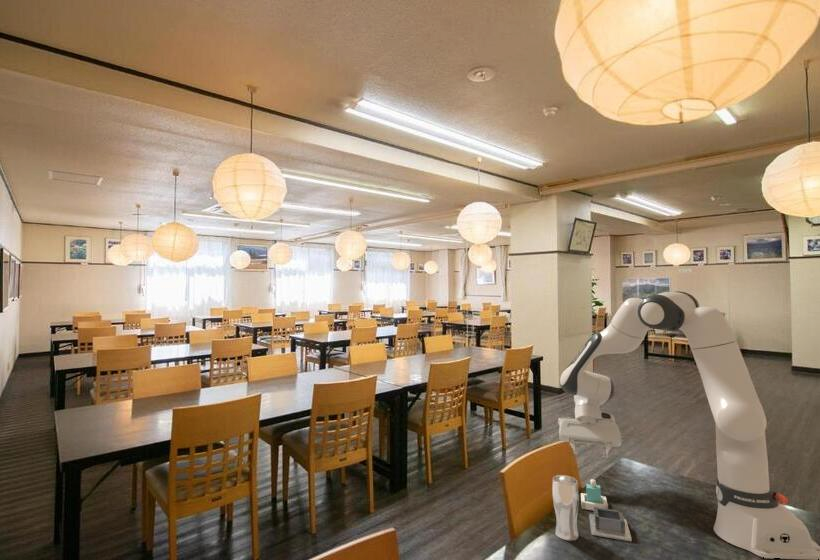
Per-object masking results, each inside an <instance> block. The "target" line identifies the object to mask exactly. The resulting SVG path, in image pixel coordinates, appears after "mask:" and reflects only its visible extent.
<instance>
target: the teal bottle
mask: <svg viewBox="0 0 820 560" xmlns="http://www.w3.org/2000/svg"><path fill="white" fill-rule="evenodd" d="M589 483H590V484H589ZM589 483H586V484H585V485H586V494H587V501H586V502H593V503H600V504H601V496H602V490H601V485H599V484H598V485H597V481H596V479H593V478H591V479H590V482H589Z"/></svg>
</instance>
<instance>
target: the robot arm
mask: <svg viewBox="0 0 820 560" xmlns="http://www.w3.org/2000/svg"><path fill="white" fill-rule="evenodd" d="M612 317H613V318H612V319H611V320H610V322H609V325H607V327H605V328H604V329H603V330H601V331H600V332H597V333H594V334H593V335H591V336H590V337H589V339H587V341H586V342H585V344H584V345H583V346H582V348H581V349H580V350H579V352H578V353H577V354H576V356H575V357H574V359H572V361H571V362H570V364H568V365H567V367H565V369H564V370H562V372H561V374H560V378H559V385H560V387H561V388H562V390H563V391H564V393H565V394H567V395H570V396H571V395H572V396H573V402H574V404H575V405H574V416H568V415H562V416H560V417H559V418H558V419H557V425H558V427H559V429H558V436H559V437H558V439H559V440H560V441H561V442H568V443H569V446H570V447H571V449H573V455H575V454H576V455H578V454H579V448H578V446H575V444H577V443H578V444H589V445H597V446H598V445H599V446H605V449H602V457H604V458H609V452H610V450H611V449H612V448H611V447H620V446H621V445H622V436H621V431H620V428H619V426H618V424H617V423H616V420H615V419H616V418H615V416H614V415H613V414H611V413H609V412H606V411H603V410H600V406H602V405H605V404H607V403H608V402H610V401H611V400H612V399H613V398H614V396H615V386H614V382H613V380H612V379H611V377H609V376H607V375H603V374H600V373H597V372H596V373H595V372H592V371H588V370H586V369H587V368H588V367H589V365H590V364H591V363H592V361H593V360H594V359H595V358H597V357H599V356H602V355H603V356H604V355H610V354H613V355H615V354H616V355H617V354H619V355H620V354H621V355H623V354H628V353H631V352H633V351H636V350H637V349H638V348H639V347H640V345H641V344H642V342H643V340H644V339H645V337H646V335H647V333H648V331H649V330H650V329H654V330H658V331H669V332H676V331H678V330H680V331H681V332H682V333H683V334H684V335H685V337H686V340H687V342H688V345H689V347H690V351H691V352H692V356H693V359H694V362H695V364H696V367H697V370H698V372H699V375H700V378H701V382H702V385H703V389H704V392H705V395H706V399H707V400H708V404H709V407H710V410H711V414H712V416H713V419H714V422H715V444H716V445H715V448H716V449H715V451H716V452H715V453H716V464H717V466H716V467H717V468H716V470H717V478H716V479H715V481H716V485H715V486H716V487H715V492H716V500H717V512H716V513H717V514H716V516H715V517H716V519H715V522H714V525H713V531H714V533H715V534H716V535H717V536H718V537H719V538H720V539H722V540H723V541H725V542H727V543H729V544H731V545H733V546H736V547H738V548H740V549H743V550H746V551H749V552H750V553H752V554H754V555H756V556H758V557H760V558H763V557H764V559H774V558H780V559H781V560H785V559H786V560H818V559H819V560H820V545H819V544H818V543H817V542H816V541H814V540H813V539H812V537H811V534H810V532H809V529H808V528H807V526H806V525H805V524H804V522H802V521H801V519H799V518H798V517H797V516H795V515H794V514H793V513H792V512H791V511H789V510H788V509H787V508H785V507H784V506H782V505H787V504H788V503H789V499H788V498H787V497H786V496H784V495H783V494H781V493H778V492H777V491H776V490H775V489H773V488H771V487H770V478H769V477H770V476H769V459H768V451H767V440H766V429H767V426H768V424H767V423H768V422H767V418H766V414H765V411H764V408H763V405H762V403H761V402H760V398H759V396H758V394H757V390H756V389H755V388H756V387H755V385H754V383H753V380H752V378H751V375H750V372H749V370H748V367H747V365H746V362H745V359H744V357H743V354H742V352H741V349H740V346H739V344H738V342H737V339H736V336H735V334H734V332H733V330H732V328H731V326H730V324H729V323H728V320H727V319H726V318H725V316H724V315H723V314H722V312H721V311H720V310H719V309H718V308H716V307H711V306H700V303H699V301H698V300H697V299H696V298H695V296H694V295H692V294H690V293H688V292H685V291H678V290H676V291H663V292H659V293H656V294H651V295H649V296H647V297H645V298H640V297H629V298H627V299H625V301H623V303H622V304H621V305H620V306H619V308H618V309H617V311H616V312H615V314H614V316H612ZM780 559H779V560H780Z"/></svg>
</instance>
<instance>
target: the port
mask: <svg viewBox="0 0 820 560" xmlns="http://www.w3.org/2000/svg"><path fill="white" fill-rule="evenodd" d="M623 514H624V513H623V510H617V509H610V508H608V509H605V508H598V507H594V511H593V513H588V518H589V526H590V533H591V535H590V536H595V537H601V538H602V537H603V538H608V539H615V540H619V541H625V542H631V543H632V535H631V531H630V529H629V525H628V522H627V519H626V518H624V515H623Z"/></svg>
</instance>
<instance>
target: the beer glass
mask: <svg viewBox="0 0 820 560" xmlns="http://www.w3.org/2000/svg"><path fill="white" fill-rule="evenodd" d="M551 489H552V494H551V495H552V501H553V503H552V504H553V508H554V513H555V517H556V518H555V519H556V523H555V524H556V525H555V535H556V536H557V537H558V538H559V539H561V540H565V541H567V542H570V541H571V542H572V541H576V540H578V539H579V535H580V534H579V531H578V530H579V529H578V525H577V524H578V523H577V521H578V519H577V518H578V512H579V503H580V501H579V500H580V499H579V497H580V495H579V493H580V492H579V486H578V480H577V479H576V478H575V477H572V476H569V475H565V474H558V475H554V476H553V477H552V488H551Z"/></svg>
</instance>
